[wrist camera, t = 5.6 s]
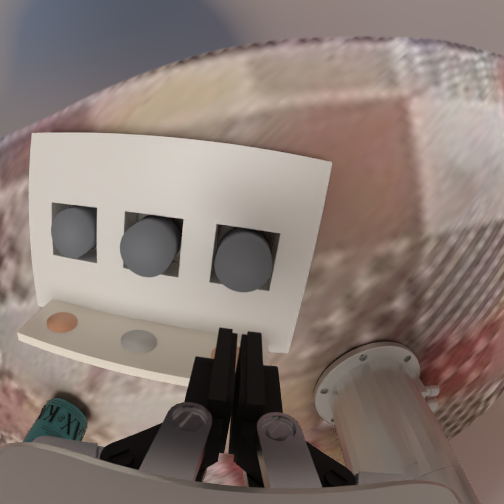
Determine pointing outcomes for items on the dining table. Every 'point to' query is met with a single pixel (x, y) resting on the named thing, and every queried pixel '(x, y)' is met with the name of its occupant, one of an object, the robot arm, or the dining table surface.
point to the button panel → (177, 274)
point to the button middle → (150, 245)
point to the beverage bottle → (59, 421)
